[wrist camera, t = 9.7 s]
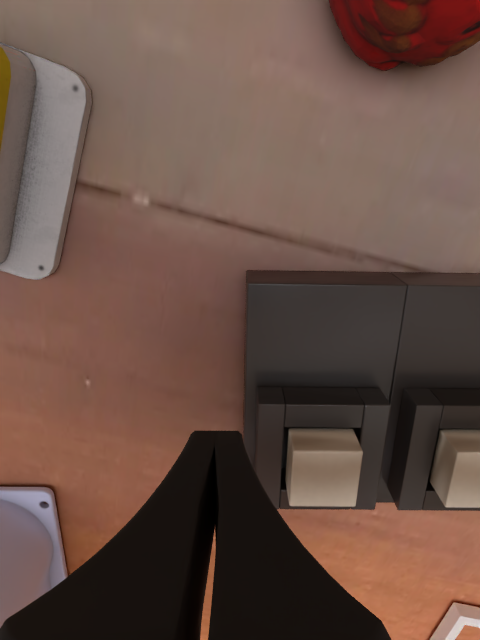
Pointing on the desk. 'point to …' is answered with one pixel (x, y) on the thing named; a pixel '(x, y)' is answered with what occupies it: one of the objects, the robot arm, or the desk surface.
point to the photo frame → (457, 621)
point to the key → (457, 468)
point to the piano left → (319, 367)
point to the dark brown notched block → (431, 383)
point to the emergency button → (38, 158)
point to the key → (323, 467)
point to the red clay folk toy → (407, 29)
